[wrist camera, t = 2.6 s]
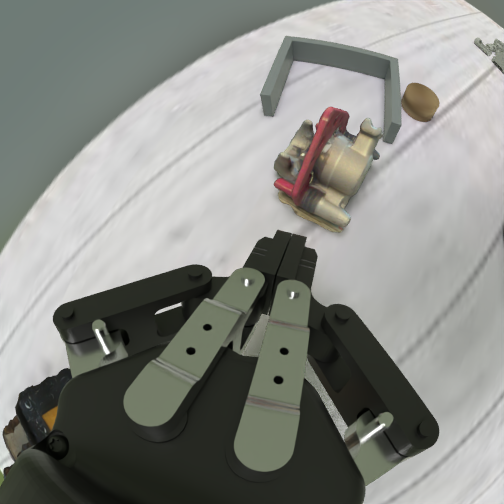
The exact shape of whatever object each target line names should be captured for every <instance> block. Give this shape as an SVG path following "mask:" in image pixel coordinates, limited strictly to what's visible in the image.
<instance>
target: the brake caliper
mask: <svg viewBox="0 0 504 504" xmlns="http://www.w3.org/2000/svg"><path fill="white" fill-rule="evenodd" d="M348 119H349V114H348V112H347V111H343V110H341V109H338V108H334V107H328V108H327V109H326V110H325V111H324V112H323V114H322V116H321V117H320V120H319V123H317V124H316V126H315V127H316V133H315V135H314V133H313V124H312V122H311V121H310V120H305V121H304V122H303V124H302V126H301V127H300V129H299V130H298V131H297V132H296V134H295V136H294V137H293V139H292V140H291V142H290V145H289V146H288V148H287V149H286V150H285V151H284V152H281V153H280V154H279V155H278V158H277V159H276V160H275V163H274V169H275V170H276V171H277V172H278V173H279V174H280V176H281V177H282V178H279V179H277V180H276V181H275V183H274V186H275V187H276V188H277V189H279V190H280V191H279V193H278V195H279V199H280V201H281V202H282V203H286V204H289V205H290V206H291V207H292V208H293V210H294V212H295V213H296V214H297V215H299V216H300V217H302V218H304V219H307V220H309V221H313V222H314V223H316V224H319V225H320V226H321V227H323V228H325V229H327V230H330V231H332V232H342V230H343V228H342V227H345V226H347V225H348V224H349V222H350V220H351V217H350V215H349V214H348V213H347V212H346V211H345V210H344V208H345V206H346V205H347V203H348V201H349V198H350V197H351V196H353V195H355V194H356V193H357V191H358V189H359V187H360V185H361V183H362V182H363V180H364V178H365V176H366V174H367V172H368V170H369V168H370V165H371V163H372V161H373V159H374V160H377V159H379V157H380V154H379V153H378V152H377V151H376V150H375V147H376V145H377V143H378V140H379V139H380V138H381V137H382V136H383V132H382V129H381V128H375V127H374V126H373V125H372V122H371V119H370V118H366V119H365V120H364V121H363V122H362V124H361V125H360V132H359V133H358V134H357V136H354V135H352V134H350V133H349V132H348V131H347V130H346V126H347V123H348Z"/></svg>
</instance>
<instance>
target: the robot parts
mask: <svg viewBox="0 0 504 504" xmlns="http://www.w3.org/2000/svg"><path fill="white" fill-rule="evenodd" d="M474 43H475V44H476V45H477V46H478V47H479V48H480V49H481V50H482V51H483V52H484V53H486V54H487V55H488V56H490V55H491V54H492V52H491V51H494V52H496V53H495V55H496V56H495V57H493V59H492V61H493V62H494V63H495V64H496V65H497V66H498V67H499V69H500V70H501V71H502V72H503V73H504V43H502V42H501V41H499V40H497V39H495V41H494V44H486V46H485V45H484V44H483V43H482V40H481V39H480V38H476V39H475V41H474Z"/></svg>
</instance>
